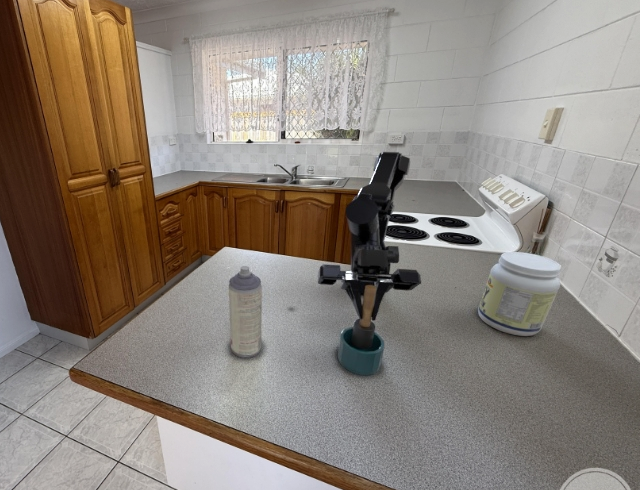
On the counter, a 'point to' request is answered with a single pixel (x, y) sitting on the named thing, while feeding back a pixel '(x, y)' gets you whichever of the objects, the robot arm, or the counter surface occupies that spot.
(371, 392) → the counter surface
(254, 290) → the aerosol can
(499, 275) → the supplement tub
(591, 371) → the counter surface
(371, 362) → the teal cup
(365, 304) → the brush
